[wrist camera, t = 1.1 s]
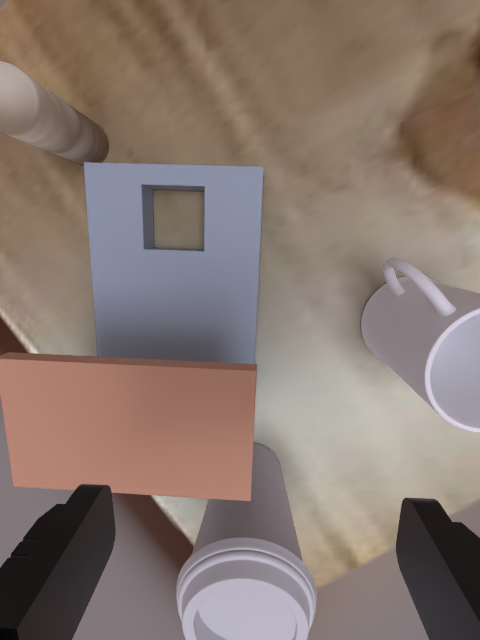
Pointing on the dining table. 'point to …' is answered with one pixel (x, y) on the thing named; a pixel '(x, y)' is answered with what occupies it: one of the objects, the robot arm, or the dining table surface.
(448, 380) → the mug
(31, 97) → the peg
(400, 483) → the dining table surface
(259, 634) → the coffee cup
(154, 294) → the socket board
